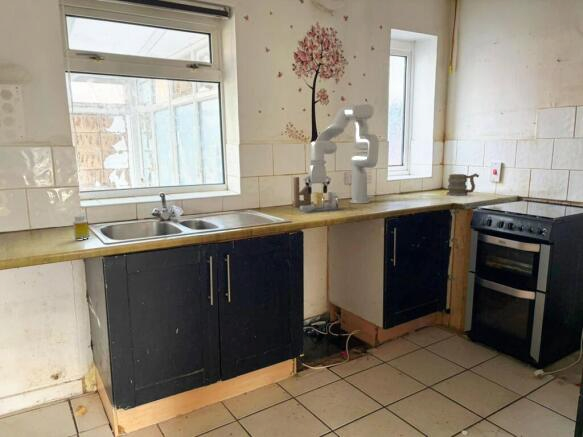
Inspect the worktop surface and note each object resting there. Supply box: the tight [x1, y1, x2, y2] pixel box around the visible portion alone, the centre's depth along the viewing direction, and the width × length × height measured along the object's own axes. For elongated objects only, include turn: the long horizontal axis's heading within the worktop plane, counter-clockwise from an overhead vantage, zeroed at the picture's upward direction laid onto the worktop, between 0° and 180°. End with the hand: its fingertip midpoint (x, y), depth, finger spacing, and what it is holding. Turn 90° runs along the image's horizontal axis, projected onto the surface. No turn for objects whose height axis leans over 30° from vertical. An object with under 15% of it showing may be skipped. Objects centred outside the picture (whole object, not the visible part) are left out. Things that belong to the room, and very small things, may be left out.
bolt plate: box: [296, 205, 342, 214], centre depth 252 cm, size 22×13×1 cm, turn 114°
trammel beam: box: [299, 191, 340, 209], centre depth 250 cm, size 21×9×8 cm, turn 114°
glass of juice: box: [72, 214, 90, 240], centre depth 186 cm, size 6×6×10 cm
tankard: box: [446, 173, 480, 197], centre depth 301 cm, size 20×13×15 cm, turn 55°
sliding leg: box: [312, 191, 326, 208], centre depth 250 cm, size 4×9×8 cm, turn 24°
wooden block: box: [292, 176, 312, 208], centre depth 267 cm, size 4×11×18 cm, turn 113°
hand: (317, 193), depth 251 cm, fingers open, 9 cm apart
